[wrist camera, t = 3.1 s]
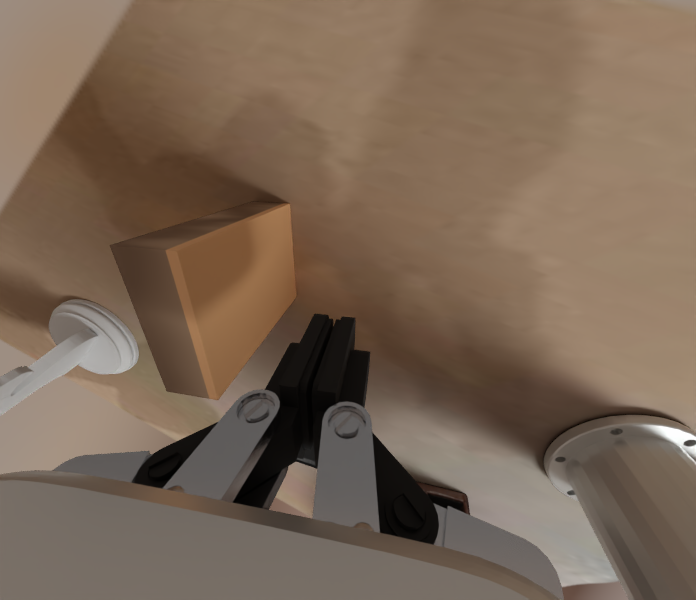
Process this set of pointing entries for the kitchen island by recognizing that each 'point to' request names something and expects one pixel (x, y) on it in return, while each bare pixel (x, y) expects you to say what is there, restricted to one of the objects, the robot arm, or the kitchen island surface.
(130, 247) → the tan flat block
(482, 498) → the kitchen island surface
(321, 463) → the robot arm
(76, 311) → the chess piece
